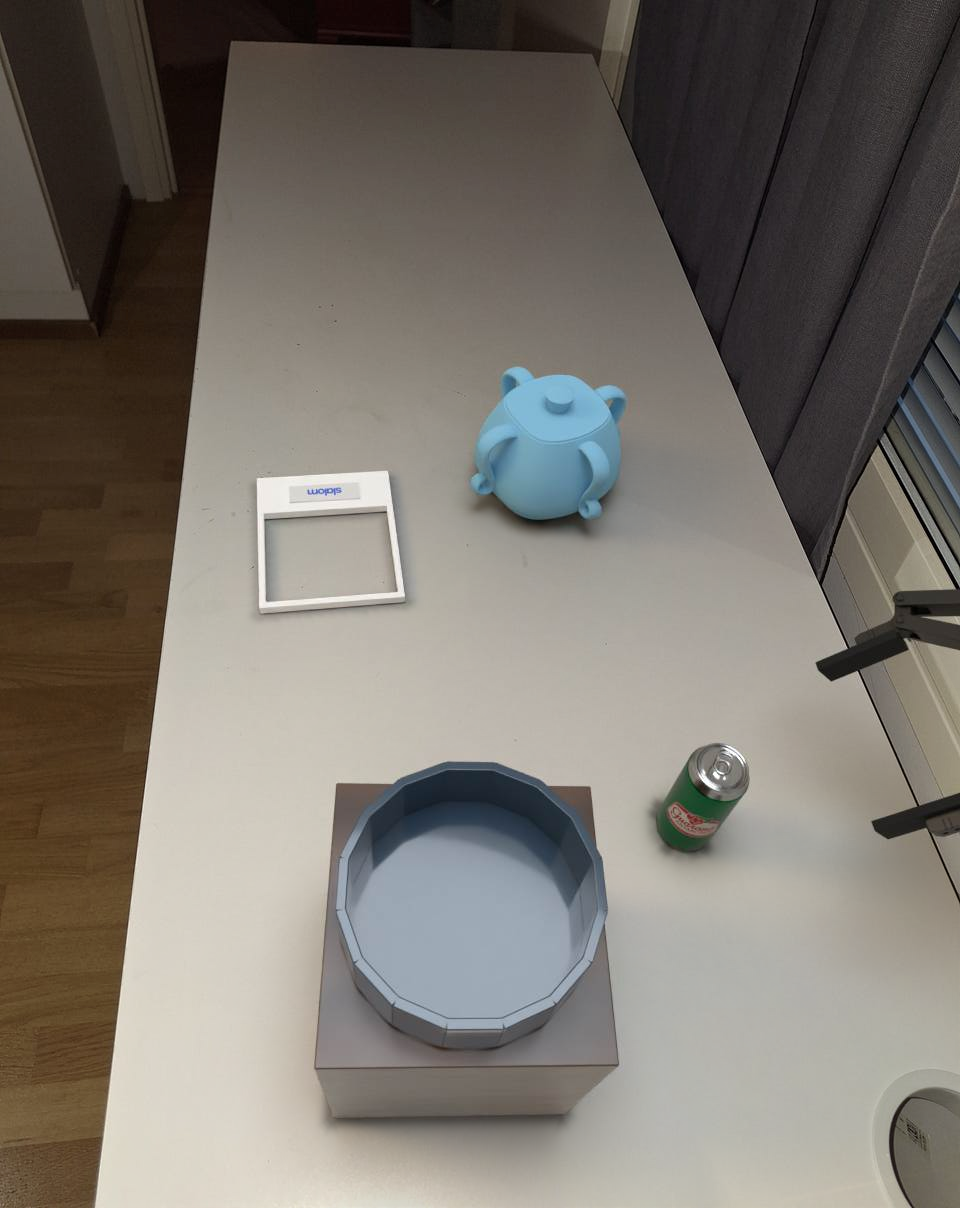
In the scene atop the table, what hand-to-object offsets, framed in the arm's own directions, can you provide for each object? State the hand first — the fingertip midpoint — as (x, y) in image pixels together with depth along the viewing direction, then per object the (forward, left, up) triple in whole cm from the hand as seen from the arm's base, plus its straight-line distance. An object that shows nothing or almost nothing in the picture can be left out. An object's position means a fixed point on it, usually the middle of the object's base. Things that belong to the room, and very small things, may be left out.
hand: (849, 747), depth 70 cm
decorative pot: (+42, +19, -15) cm, 48 cm away
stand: (-14, +30, -15) cm, 37 cm away
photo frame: (+32, +43, -15) cm, 56 cm away
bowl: (-14, +30, +5) cm, 34 cm away
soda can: (0, +9, -15) cm, 18 cm away
